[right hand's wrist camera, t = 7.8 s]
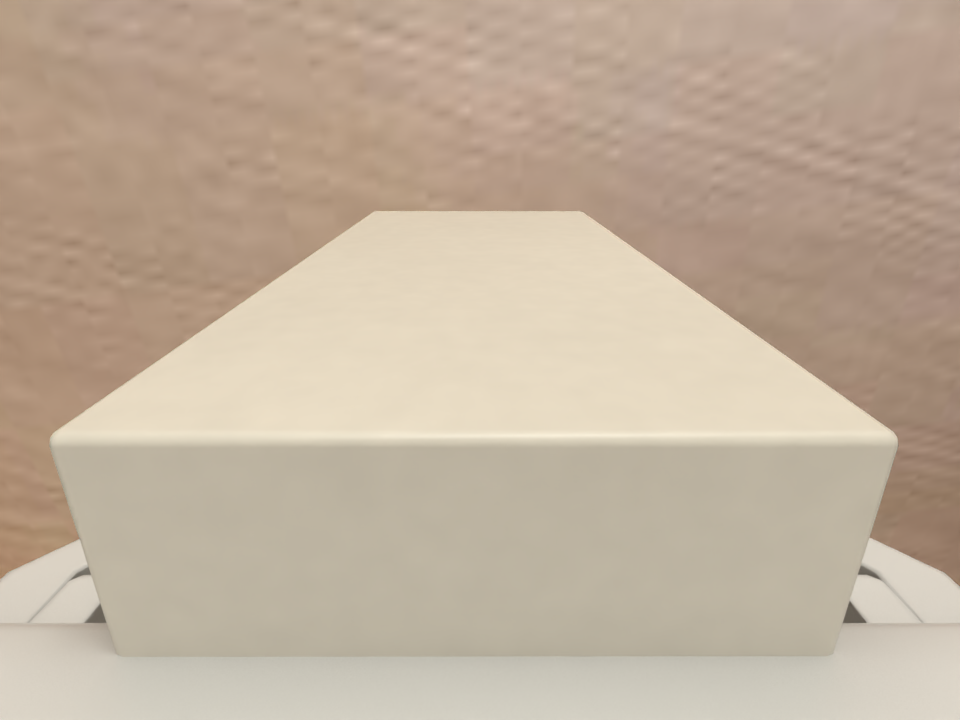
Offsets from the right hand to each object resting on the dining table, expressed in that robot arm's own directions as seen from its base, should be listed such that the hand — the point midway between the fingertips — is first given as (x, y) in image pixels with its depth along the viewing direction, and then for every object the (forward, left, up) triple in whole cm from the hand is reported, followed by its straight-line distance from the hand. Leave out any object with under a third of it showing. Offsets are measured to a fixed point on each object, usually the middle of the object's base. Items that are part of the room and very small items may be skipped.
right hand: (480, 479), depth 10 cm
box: (+2, +6, -8) cm, 10 cm away
